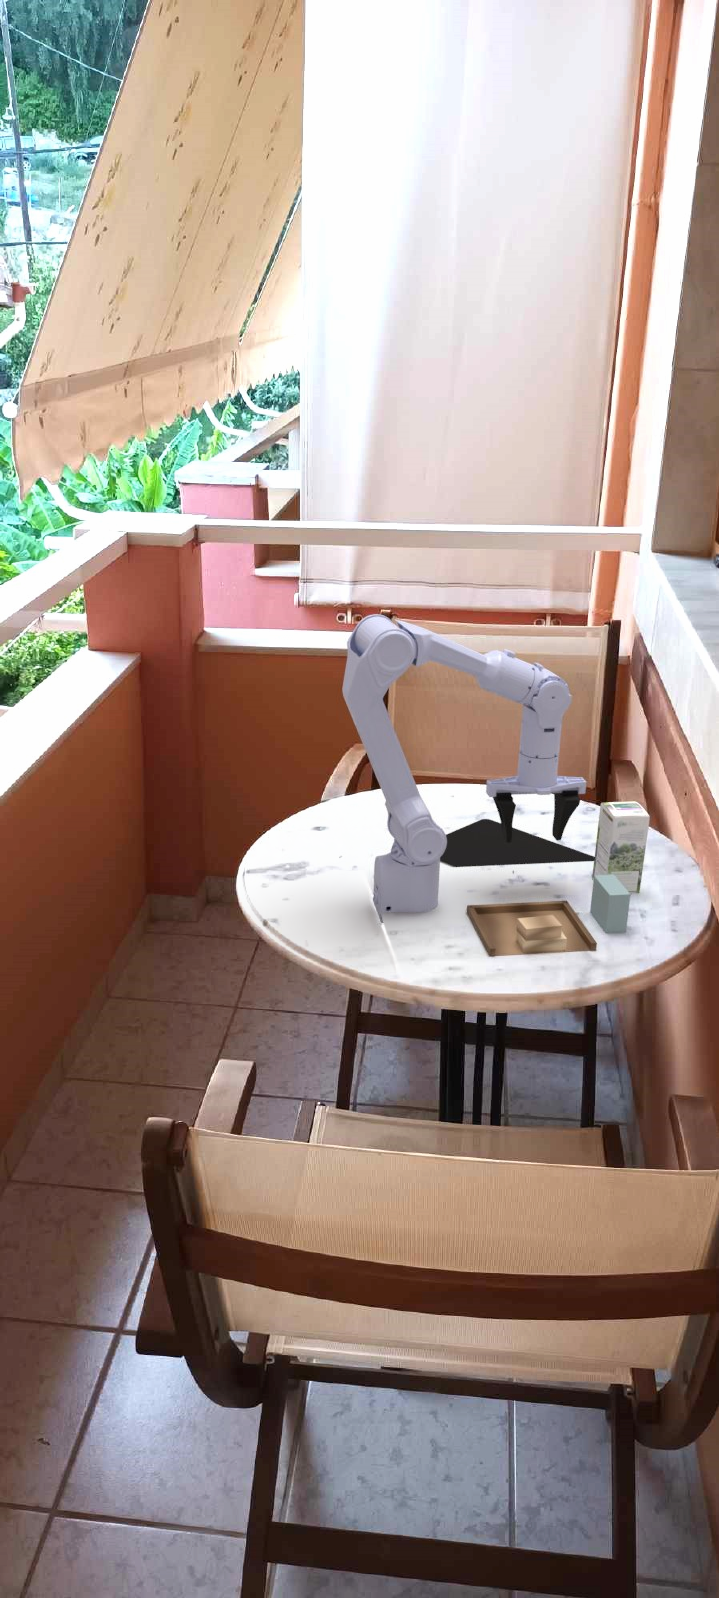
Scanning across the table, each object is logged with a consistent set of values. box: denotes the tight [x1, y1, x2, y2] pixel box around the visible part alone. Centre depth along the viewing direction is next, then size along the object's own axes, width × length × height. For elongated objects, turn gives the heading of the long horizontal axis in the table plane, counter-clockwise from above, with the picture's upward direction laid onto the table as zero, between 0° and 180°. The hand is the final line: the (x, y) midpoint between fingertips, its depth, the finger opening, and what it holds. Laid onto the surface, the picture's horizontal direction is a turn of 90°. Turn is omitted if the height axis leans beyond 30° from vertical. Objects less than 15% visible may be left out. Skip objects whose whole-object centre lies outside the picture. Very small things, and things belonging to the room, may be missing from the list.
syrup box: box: [591, 801, 651, 894], centre depth 173 cm, size 6×6×14 cm
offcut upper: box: [517, 915, 562, 941], centre depth 156 cm, size 5×3×2 cm, turn 105°
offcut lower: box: [516, 931, 567, 953], centre depth 157 cm, size 6×3×2 cm, turn 99°
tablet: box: [440, 818, 595, 868], centre depth 188 cm, size 27×1×20 cm
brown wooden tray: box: [466, 900, 598, 957], centre depth 161 cm, size 15×13×3 cm
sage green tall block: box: [589, 875, 632, 934], centre depth 163 cm, size 3×6×7 cm, turn 9°
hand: (531, 838), depth 170 cm, fingers open, 7 cm apart
